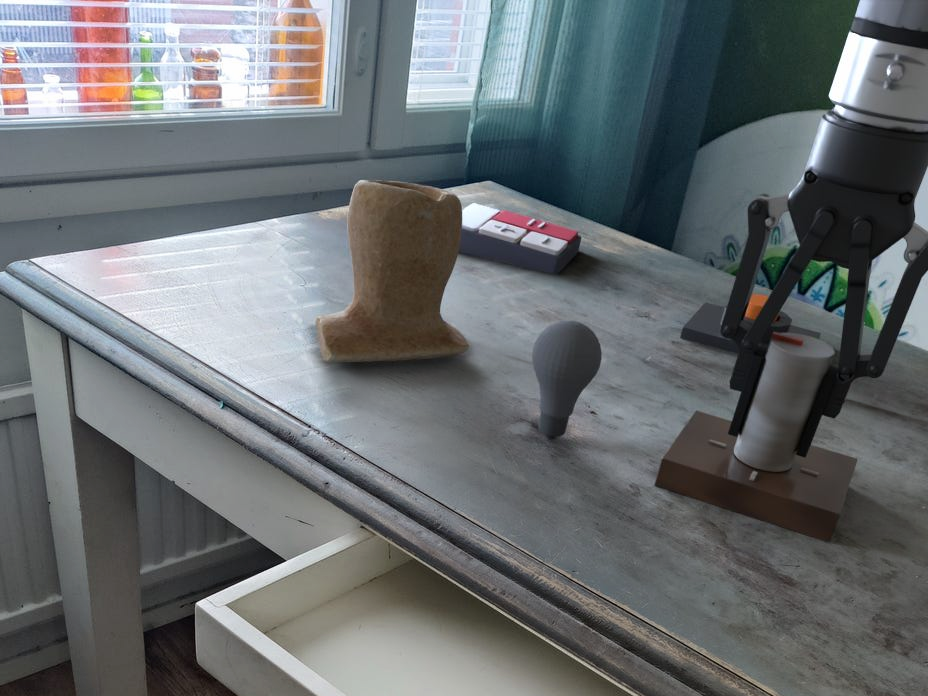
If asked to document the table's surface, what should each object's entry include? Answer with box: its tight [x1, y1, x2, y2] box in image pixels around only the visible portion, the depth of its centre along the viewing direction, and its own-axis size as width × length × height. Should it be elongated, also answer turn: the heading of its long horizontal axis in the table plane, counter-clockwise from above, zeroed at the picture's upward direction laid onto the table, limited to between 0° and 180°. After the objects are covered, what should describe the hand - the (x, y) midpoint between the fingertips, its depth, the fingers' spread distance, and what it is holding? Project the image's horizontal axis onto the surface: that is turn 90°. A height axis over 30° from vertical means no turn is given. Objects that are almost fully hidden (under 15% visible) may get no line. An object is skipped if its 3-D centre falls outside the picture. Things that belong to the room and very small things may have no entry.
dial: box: [734, 332, 836, 472], centre depth 77 cm, size 5×5×10 cm
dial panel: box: [654, 410, 858, 543], centre depth 81 cm, size 14×11×3 cm
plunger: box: [745, 293, 781, 322], centre depth 103 cm, size 4×4×2 cm
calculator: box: [458, 203, 582, 275], centre depth 120 cm, size 11×4×15 cm
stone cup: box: [315, 179, 470, 363], centre depth 90 cm, size 15×12×15 cm
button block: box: [679, 301, 822, 355], centre depth 105 cm, size 13×10×4 cm
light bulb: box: [531, 319, 603, 440], centre depth 81 cm, size 6×6×10 cm
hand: (769, 438), depth 79 cm, fingers closed on dial, 5 cm apart
